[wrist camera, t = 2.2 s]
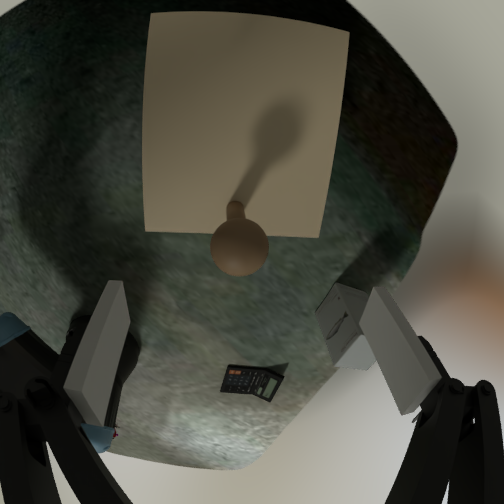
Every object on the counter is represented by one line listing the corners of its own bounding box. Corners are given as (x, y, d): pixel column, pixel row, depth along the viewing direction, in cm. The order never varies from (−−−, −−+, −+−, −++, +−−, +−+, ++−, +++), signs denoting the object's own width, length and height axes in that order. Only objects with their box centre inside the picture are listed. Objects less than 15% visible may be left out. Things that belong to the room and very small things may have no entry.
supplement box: (334, 280, 49) (362, 333, 38) (366, 291, 51) (396, 340, 40) (312, 312, 52) (332, 367, 41) (344, 321, 54) (368, 371, 43)
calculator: (228, 364, 57) (228, 375, 55) (282, 368, 60) (285, 379, 57) (220, 389, 62) (220, 399, 59) (270, 392, 64) (271, 402, 61)
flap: (147, 226, 28) (119, 289, 19) (153, 16, 18) (117, -22, 9) (315, 233, 30) (351, 293, 21) (345, 33, 20) (405, 13, 11)
